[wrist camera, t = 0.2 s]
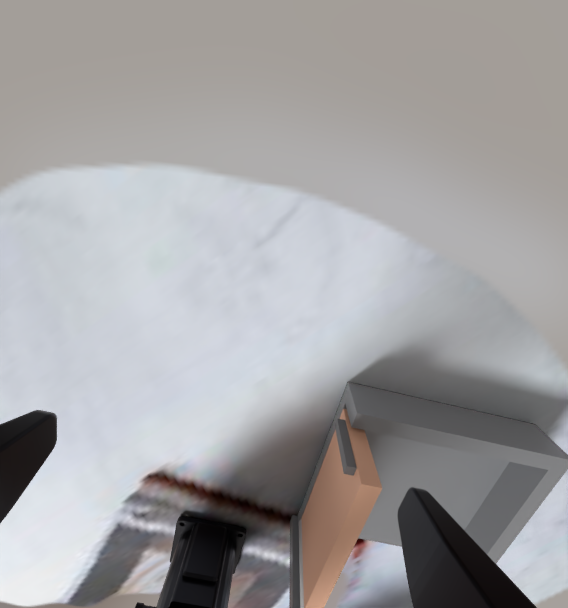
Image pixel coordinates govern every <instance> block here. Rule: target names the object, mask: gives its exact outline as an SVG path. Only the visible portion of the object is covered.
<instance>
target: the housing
mask: <svg viewBox="0 0 568 608" xmlns="http://www.w3.org/2000/svg"><path fill="white" fill-rule="evenodd" d="M343 409H347V412H348V416H349V420H350V424H351V427H352V428H357V429H362V430H364V431H365V434H366V437H367V440H368V443H369V447H370V450H371V453H372V456H373V460H374V463H375V466H376V469H377V473H378V476H379V479H380V482H381V485H382V490H381V492H380V494H379V496H378V498H377V500H376V502H375V504H374V507H373V509H372V511H371V513H370V515H369V517H368V519H367V521H366V523H365V525H364V527H363V529H362V531H361V533H360V535H359V537H358V538H360V539H366V540H371V541H376V542H381V543H386V544H391V545H396V546H401V547H402V542H401V536H400V530H399V524H398V515H397V514H398V509H399V506H400V504H401V502H402V500H403V498H404V496H405V494H406V492H407V491H408V489H409V488H411V487H415V488H420V489H424V490H426V491H428V492H429V493H430V494H431V495H432V496H433V497H434V498H435V499H436V500H437V502H438V503H439V504H440V505H441V506H442V507H443V508H444V509H445V510H446V511H447V512H448V513H449V514H450V515H451V516H452V518H453V519H454V520H455V521H456V522H457V523H458V524H459V525H460V526H461V527H462V528H463V529H464V530H465V531H466V533H467V534H468V535H469V536H470V537H471V538H472V539H473V540H474V541H475V542H476V543H477V544H478V545H479V546H480V547H481V549H482V550H483V551H484V552H485V553H486V554H487V555H488V556H489V557H490V558H491V559H492V560H493V561H494V562H495V564H496V563H497V562H498V560H499V559H500V558H501V556H502V555H503V554H504V552H505V551H506V550H507V548H508V547H509V546H510V545H511V543H512V542H513V541H514V539H515V538H516V537H517V535H518V534H519V533H520V531H521V530H522V529H523V527H524V526H525V525H526V523H527V522H528V521H529V519H530V518H531V517H532V515H533V514H534V513H535V511H536V510H537V509H538V508H539V506H540V505H541V504H542V502H543V501H544V500H545V498H546V497H547V496H548V494H549V493H550V492H551V490H552V489H553V488H554V486H555V485H556V484H557V482H558V481H559V480H560V478H561V477H562V476H563V475H564V473H565V472H566V471H567V469H568V455H567V454H566V453H565V452H564V451H563V450H562V449H561V448H560V447H559V446H558V445H556V444H555V443H554V442H553V441H552V440H551V439H550V438H549V437H548V436H547V435H546V434H545V433H544V432H543V431H542V430H541V429H539V428H538V427H537V426H536V425H535V424H531V423H527V422H522V421H518V420H514V419H509V418H505V417H500V416H496V415H492V414H487V413H483V412H478V411H474V410H469V409H465V408H461V407H456V406H452V405H447V404H443V403H439V402H434V401H430V400H425V399H421V398H417V397H412V396H408V395H403V394H399V393H394V392H390V391H386V390H381V389H377V388H372V387H368V386H364V385H359V384H355V383H350V382H348V383H347V385H346V388H345V391H344V393H343V396H342V399H341V401H340V404H339V407H338V409H337V412H336V415H335V417H334V420H333V423H332V425H331V428H330V431H329V433H328V436H327V439H326V441H325V444H324V447H323V449H322V452H321V455H320V457H319V460H318V463H317V466H316V468H315V471H314V474H313V476H312V479H311V482H310V484H309V487H308V490H307V492H306V495H305V498H304V500H303V503H302V506H301V508H300V511H299V514H298V516H295V515H292V517H291V520H290V608H300V566H299V521H300V520H301V518H302V515H303V513H304V510H305V508H306V505H307V502H308V500H309V497H310V494H311V492H312V489H313V487H314V484H315V481H316V479H317V476H318V473H319V471H320V468H321V466H322V463H323V460H324V458H325V455H326V453H327V450H328V447H329V445H330V442H331V439H332V437H333V434H334V432H335V423H336V420H337V418H338V419H339V418H340V416H341V413H342V411H343Z"/></svg>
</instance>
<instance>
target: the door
mask: <svg viewBox="0 0 568 608" xmlns="http://www.w3.org/2000/svg"><path fill="white" fill-rule="evenodd" d="M381 490H382V485H381V482H380V479H379V476H378V473H377V469H376V466H375V463H374V460H373V456H372V453H371V450H370V447H369V443H368V440H367V437H366V434H365V431H364V430H362V429H357V428H352V427H351V424H350V420H349V416H348V412H347V409H343V411H342V413H341V416H340V418H339V419H338V418H337V420H336V423H335V432H334V434H333V437H332V439H331V442H330V445H329V447H328V450H327V453H326V455H325V458H324V460H323V463H322V466H321V468H320V471H319V473H318V476H317V479H316V481H315V484H314V487H313V489H312V492H311V494H310V497H309V500H308V502H307V505H306V508H305V510H304V513H303V515H302V518H301V520H300V521H299V566H300V608H324V606H325V604H326V602H327V600H328V598H329V596H330V594H331V592H332V590H333V588H334V586H335V584H336V582H337V580H338V578H339V576H340V574H341V572H342V570H343V568H344V566H345V564H346V562H347V560H348V558H349V555H350V553H351V551H352V549H353V547H354V545H355V543H356V541H357V539H358V537H359V535H360V533H361V531H362V529H363V527H364V525H365V523H366V521H367V519H368V517H369V515H370V513H371V511H372V509H373V507H374V504H375V502H376V500H377V498H378V496H379V494H380V492H381Z"/></svg>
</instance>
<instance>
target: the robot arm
mask: <svg viewBox="0 0 568 608" xmlns="http://www.w3.org/2000/svg"><path fill="white" fill-rule="evenodd" d="M56 441H57V416H56V415H55V414H54V413H51V412H46V411H42V410H36V411H33V412H30V413H28V414H25V415H23V416H20V417H18V418H15V419H13V420H10V421H8V422H5V423H3V424H0V523H1V522H2V521H3V519H4V518H5V517H6V515H7V514H8V513H9V511H10V510H11V509H12V507H13V506H14V505H15V503H16V502H17V500H18V499H19V497H20V496H21V495H22V493H23V492H24V490H25V489H26V487H27V486H28V485H29V483H30V482H31V480H32V479H33V477H34V476H35V475H36V473H37V472H38V470H39V469H40V467H41V466H42V465H43V463H44V462H45V460H46V459H47V457H48V456H49V455H50V453H51V452H52V450H53V449H54V447H55V444H56ZM397 515H398V524H399V530H400V536H401V542H402V549H403V555H404V561H405V567H406V573H407V579H408V584H409V589H410V594H411V598H412V603H413V607H414V608H537V607H536V606H535V605H534V604H533V603H532V602H531V601H530V600H529V599H528V598H527V597H526V596H525V595H524V593H523V592H522V591H521V590H520V589H519V588H518V587H517V586H516V585H515V584H514V583H513V582H512V581H511V580H510V578H509V577H508V576H507V575H506V574H505V573H504V572H503V571H502V570H501V569H500V568H499V567H498V566H497V565H496V564H495V562H494V561H493V560H492V559H491V558H490V557H489V556H488V555H487V554H486V553H485V552H484V551H483V550H482V549H481V547H480V546H479V545H478V544H477V543H476V542H475V541H474V540H473V539H472V538H471V537H470V536H469V535H468V534H467V533H466V531H465V530H464V529H463V528H462V527H461V526H460V525H459V524H458V523H457V522H456V521H455V520H454V519H453V518H452V516H451V515H450V514H449V513H448V512H447V511H446V510H445V509H444V508H443V507H442V506H441V505H440V504H439V503H438V502H437V500H436V499H435V498H434V497H433V496H432V495H431V494H430V493H429V492H428V491H426V490H424V489H420V488H415V487H411V488H409V489H408V491H407V492H406V494H405V496H404V498H403V500H402V502H401V504H400V506H399V509H398V514H397ZM245 536H246V530H245V529H244V528H242V527H237V526H232V525H226V524H221V523H216V522H211V521H206V520H201V519H195V518H190V517H185V516H181V517H179V518H178V521H177V524H176V530H175V535H174V541H173V547H172V552H171V558H170V562H171V564H170V567H169V570H168V573H167V576H166V579H165V582H164V586H163V589H162V592H161V595H160V598H159V601H158V604H157V607H152V606H146V605H144V603H137V605H136V607H135V608H227V607H228V601H229V594H230V588H231V582H232V575H233V574H234V573H235V569H236V566H237V563H238V559H239V556H240V553H241V549H242V546H243V543H244V539H245Z"/></svg>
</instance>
